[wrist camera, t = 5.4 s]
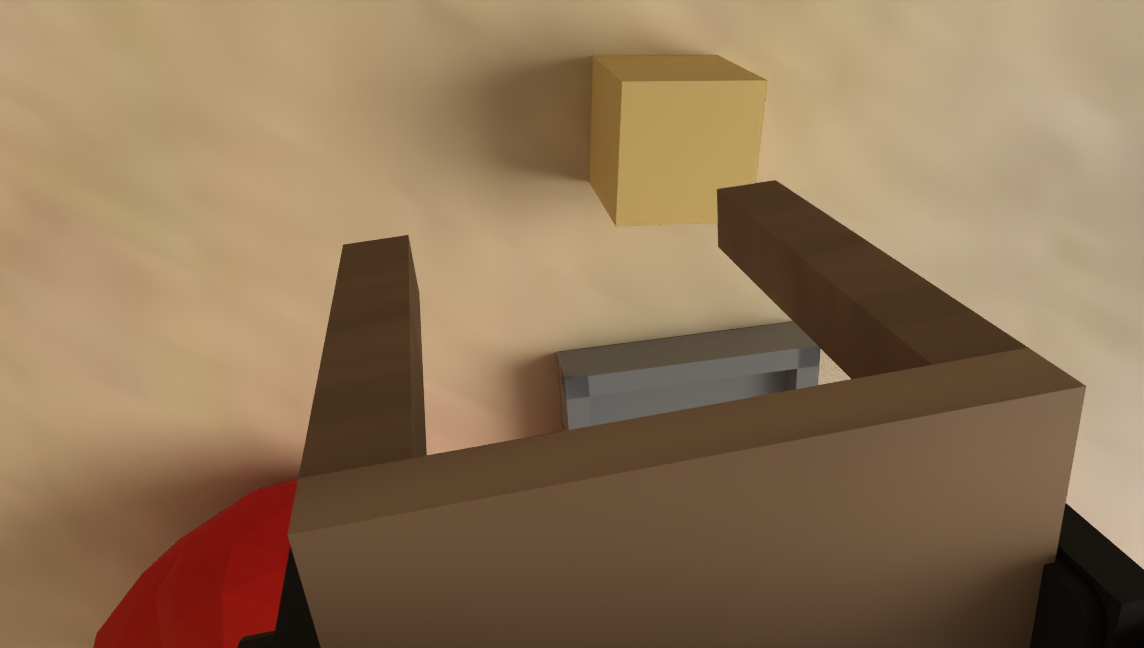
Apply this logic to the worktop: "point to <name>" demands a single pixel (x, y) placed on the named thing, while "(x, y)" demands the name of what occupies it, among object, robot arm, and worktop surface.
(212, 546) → the tomato
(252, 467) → the worktop surface
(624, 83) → the block
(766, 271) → the small wooden table
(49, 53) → the worktop surface
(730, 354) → the dish
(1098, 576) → the robot arm
